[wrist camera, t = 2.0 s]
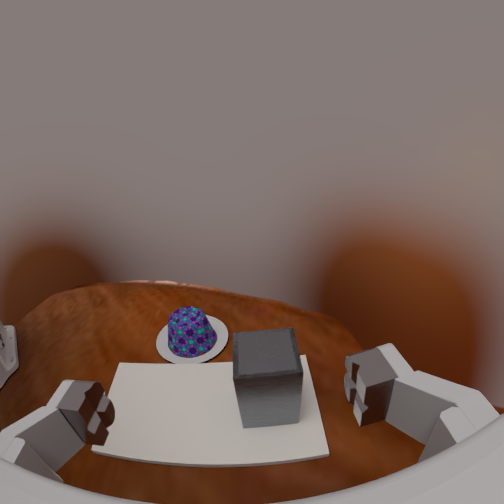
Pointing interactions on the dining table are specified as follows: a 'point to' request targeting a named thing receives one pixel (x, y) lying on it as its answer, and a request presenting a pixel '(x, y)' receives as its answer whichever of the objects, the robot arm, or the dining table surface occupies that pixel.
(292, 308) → the dining table surface
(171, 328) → the pudding
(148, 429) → the placemat
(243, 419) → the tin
